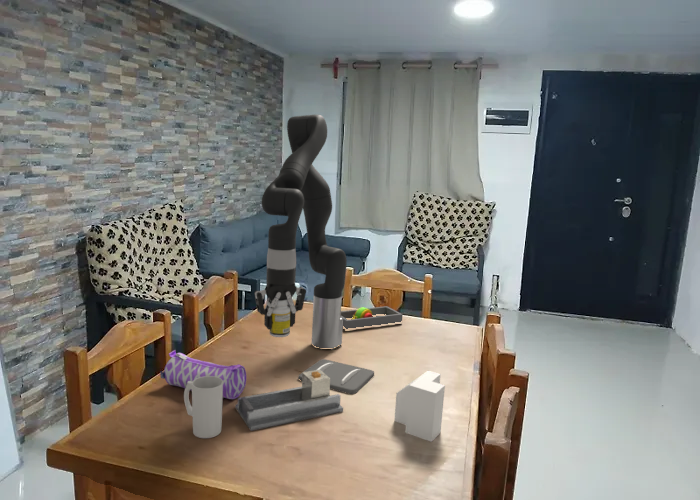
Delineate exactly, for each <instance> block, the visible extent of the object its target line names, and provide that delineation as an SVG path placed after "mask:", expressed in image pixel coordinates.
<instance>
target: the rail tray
mask: <svg viewBox="0 0 700 500" xmlns="http://www.w3.org/2000/svg"><path fill="white" fill-rule="evenodd" d="M301 373H302V381H301V386H297V387H292V388H291V387H290V388H287V389H279V390H275V391H270V392H264V393H259V394H254V395H246V396H241V397H240V396H239V397H237V403H235V410H236V412H237V413H238V414H239V416H240V417H241V419H242V420H243V422H244V423H245V424H246V426H247V428H248V430H249V431H250V432H252V431H257V430H263V429H266V428H271V427H276V426H280V425H281V426H282V425H286V424H291V423H296V422H301V421H305V420H310V419H315V418H319V417H324V416H328V415H332V414H333V415H334V414H339V413H342V412H344V407H343V406H342V405H341V395H340V394H339V393H336V394H331V395H330V391H331V389H330V378H329V377H328V376H327V375H326V374H324V373H323V372H322V371H321V370H314V371H308V372H304V371H302V372H301Z"/></svg>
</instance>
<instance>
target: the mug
mask: <svg viewBox="0 0 700 500" xmlns="http://www.w3.org/2000/svg"><path fill="white" fill-rule="evenodd" d="M191 389H192V391H191ZM190 391H191V402H190V399H189V398H190V397H189V396H190ZM223 399H224V397H223V380H222V379H221V378H219V377H215V376H203V377H199V378H196V379H195V380H193V381H192V382H191V381H188V382H187V386H186V388H184V392H183V400H184V405H185V409H186V413H187V416H191V417H192V433H193V435H194V436H195V437H196V438H200V439H211V438H214V437H217V436H219V434H221V432H222V424H223V423H222V420H223Z"/></svg>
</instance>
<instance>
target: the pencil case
mask: <svg viewBox="0 0 700 500" xmlns="http://www.w3.org/2000/svg"><path fill="white" fill-rule="evenodd" d="M168 356H169V357H170V359H169V360H168V361H167V363H166V364H165V366H164V370H161V371H159V373H160V378H161V379H164V380H165V381H166V383H167V385H170V386H174V387H179V388H183V389H185V388H186V386H187V382H188V381H191V382H192V381H193V380H195V379H196V378H199V377H203V376H215V377H219V378H221V379H222V380H223V399H224V398H225V399H228V400H235V399H238V398H240V396H241V394H242V393H243V391H245V390H244V389H245V387H246V384H247V371H246V368H245V367H244V366H243V365H241V364H239V363H238V364H236V365H235V364H234V365H232V364H231V365H222V364H217V363H213V362H211V361H204V360H199V359H196V358H192V357H189V356H188V355H186V354H184V353H182V352H177V353H176V349H174V350H172V351H171V352H169V353H168ZM190 391H191V392H192V389H191V390H190Z"/></svg>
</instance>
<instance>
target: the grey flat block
mask: <svg viewBox="0 0 700 500" xmlns="http://www.w3.org/2000/svg"><path fill="white" fill-rule="evenodd" d="M314 370H321V371H322V372H323V373H324V374H326V375H327V376H328V377H329V378H330V390H333V389H334V391H337V390H338V392H342V393H345V392H346V393H345V394H348V393H349V395H353V394H354V393H355V394H357V392H359V391H360V390H361V389H362V388H363V387H364V386H366V385H367V384H368V383H369V382H368V381H369V380H370V379H371V378H372V377H373V376H374V377H375V371H374V370H372V369H368V368H365V367H359V366H356V365H352V364H346V363H342V362H339V361H333V360H331V359H325V358H322V359H320V360H318V361H316V362H315V363H314V364H312V365H310V366H309V367H308V368H307V369H305V370H304V371H303V372H308V371H314ZM374 377H373V378H374ZM373 378H372V379H373ZM298 379H300V380H301V381H300V380H299V381H300V382H302V372H301V373H299V374H298V376H297V380H298ZM372 379H371V380H372ZM371 380H370V381H371Z"/></svg>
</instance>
